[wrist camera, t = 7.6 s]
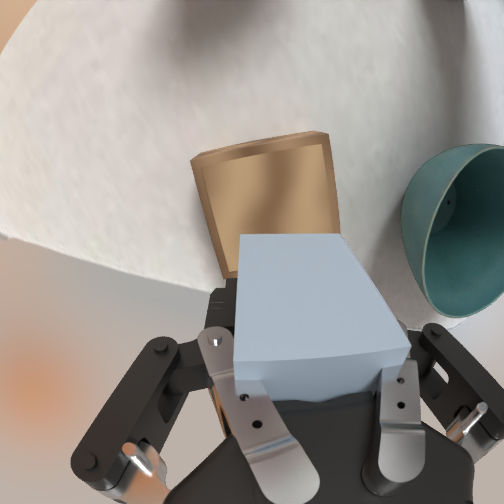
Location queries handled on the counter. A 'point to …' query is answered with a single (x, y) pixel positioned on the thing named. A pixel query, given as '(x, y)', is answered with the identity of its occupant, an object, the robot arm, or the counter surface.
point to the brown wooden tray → (266, 191)
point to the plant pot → (457, 229)
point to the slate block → (310, 319)
